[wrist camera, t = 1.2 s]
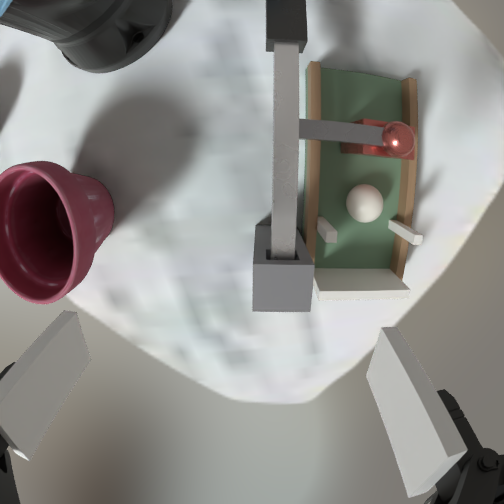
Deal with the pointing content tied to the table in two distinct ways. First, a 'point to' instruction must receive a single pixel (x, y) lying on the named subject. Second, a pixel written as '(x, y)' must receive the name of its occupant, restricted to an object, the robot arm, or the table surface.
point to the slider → (310, 124)
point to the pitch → (334, 203)
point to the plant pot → (50, 228)
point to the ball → (364, 203)
